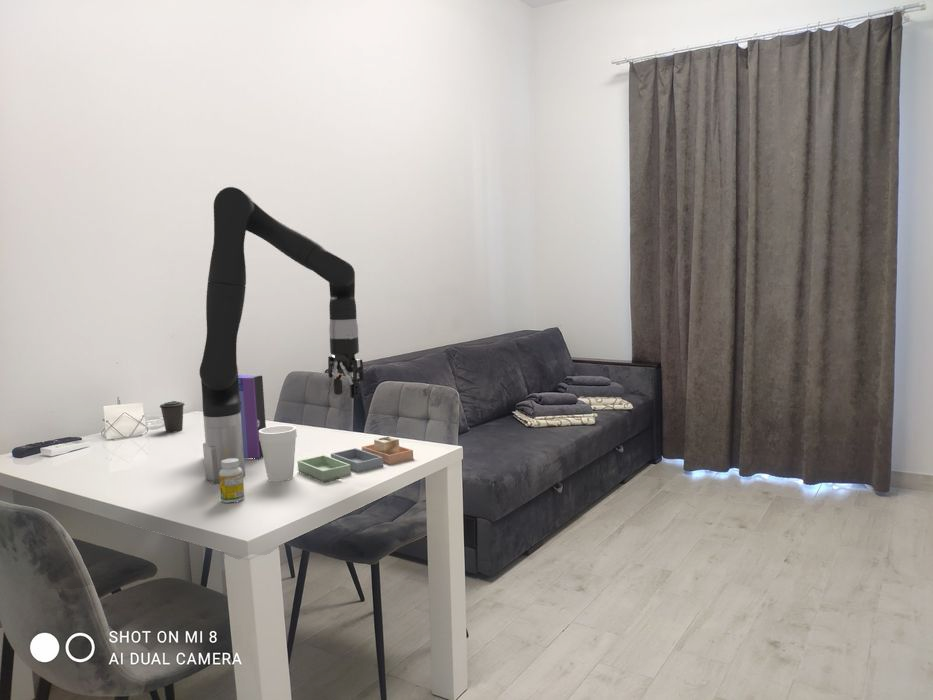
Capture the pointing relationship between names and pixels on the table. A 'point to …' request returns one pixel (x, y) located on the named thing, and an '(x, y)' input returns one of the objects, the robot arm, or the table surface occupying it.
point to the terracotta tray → (391, 459)
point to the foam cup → (278, 451)
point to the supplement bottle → (231, 481)
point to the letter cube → (387, 445)
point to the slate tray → (358, 459)
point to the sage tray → (324, 468)
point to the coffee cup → (172, 415)
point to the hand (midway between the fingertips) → (346, 396)
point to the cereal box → (251, 414)
